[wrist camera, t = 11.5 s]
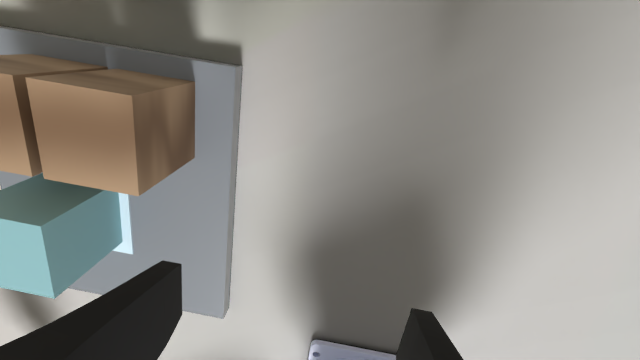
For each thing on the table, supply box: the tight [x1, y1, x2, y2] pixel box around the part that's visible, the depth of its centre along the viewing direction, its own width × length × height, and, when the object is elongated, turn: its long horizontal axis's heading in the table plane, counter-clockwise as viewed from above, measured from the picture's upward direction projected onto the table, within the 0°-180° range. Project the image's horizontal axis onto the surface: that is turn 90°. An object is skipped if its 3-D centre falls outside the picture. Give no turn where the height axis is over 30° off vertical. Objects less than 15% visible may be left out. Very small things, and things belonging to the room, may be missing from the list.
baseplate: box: [0, 26, 242, 319], centre depth 20 cm, size 16×14×1 cm
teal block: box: [0, 173, 123, 299], centre depth 18 cm, size 4×4×5 cm
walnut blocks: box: [0, 54, 195, 196], centre depth 15 cm, size 4×8×5 cm, turn 82°
